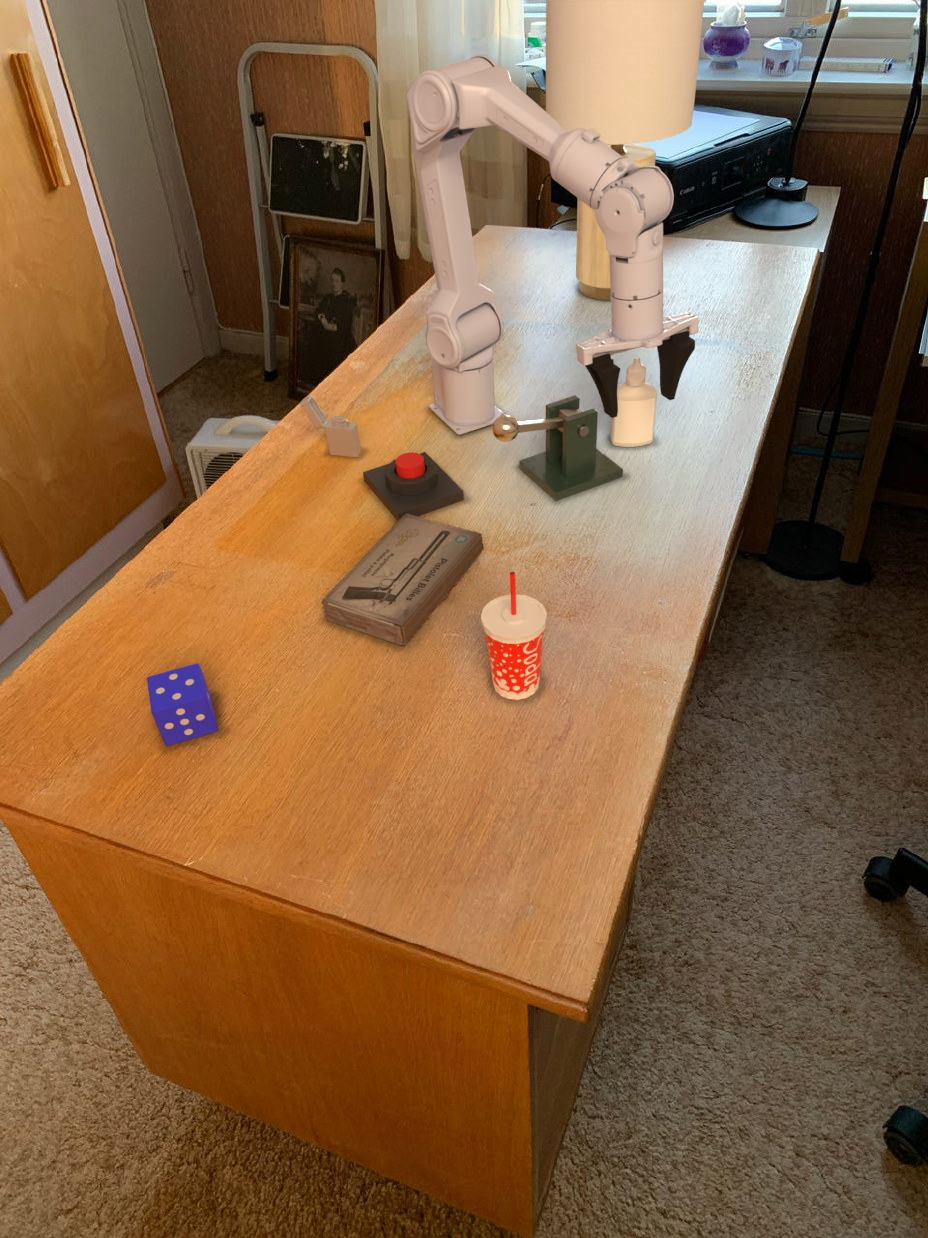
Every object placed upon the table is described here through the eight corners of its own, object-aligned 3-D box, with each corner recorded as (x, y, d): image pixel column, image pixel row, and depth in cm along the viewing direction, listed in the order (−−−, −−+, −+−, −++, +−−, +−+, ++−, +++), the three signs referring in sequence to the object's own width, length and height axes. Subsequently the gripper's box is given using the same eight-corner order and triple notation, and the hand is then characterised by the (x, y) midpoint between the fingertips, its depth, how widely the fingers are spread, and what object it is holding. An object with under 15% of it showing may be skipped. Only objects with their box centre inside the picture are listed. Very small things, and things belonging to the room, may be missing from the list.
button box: (364, 480, 119) (361, 459, 117) (425, 460, 122) (423, 439, 120) (399, 522, 112) (396, 501, 110) (464, 499, 115) (462, 478, 113)
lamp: (586, 255, 173) (595, -31, 143) (698, 276, 162) (732, -28, 133) (521, 298, 160) (515, -6, 130) (638, 325, 149) (661, 0, 119)
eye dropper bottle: (645, 453, 120) (652, 369, 112) (605, 444, 122) (609, 361, 114) (656, 437, 123) (664, 354, 115) (617, 429, 125) (622, 346, 117)
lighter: (361, 450, 125) (353, 397, 120) (357, 457, 124) (348, 404, 119) (314, 445, 127) (303, 393, 122) (309, 452, 126) (298, 400, 120)
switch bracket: (555, 501, 113) (556, 435, 107) (519, 468, 119) (517, 404, 113) (622, 476, 116) (626, 411, 110) (583, 445, 123) (585, 382, 116)
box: (486, 552, 105) (483, 531, 103) (406, 648, 95) (401, 626, 93) (408, 531, 110) (404, 510, 108) (324, 620, 99) (318, 599, 97)
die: (218, 732, 88) (205, 696, 85) (166, 747, 87) (151, 712, 84) (211, 697, 92) (198, 661, 88) (161, 711, 91) (146, 676, 87)
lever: (498, 447, 108) (502, 422, 106) (485, 436, 110) (489, 411, 108) (585, 437, 113) (590, 413, 112) (571, 426, 116) (575, 402, 114)
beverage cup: (501, 713, 88) (495, 603, 78) (475, 673, 92) (467, 564, 82) (558, 692, 89) (559, 582, 80) (529, 653, 93) (527, 544, 84)
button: (392, 469, 116) (390, 457, 115) (417, 461, 117) (416, 449, 116) (404, 482, 113) (402, 470, 112) (430, 473, 115) (428, 462, 113)
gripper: (593, 318, 96) (600, 434, 104) (714, 284, 99) (711, 400, 107) (565, 300, 101) (573, 412, 110) (680, 268, 104) (679, 380, 112)
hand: (639, 405), depth 109 cm, fingers open, 7 cm apart
